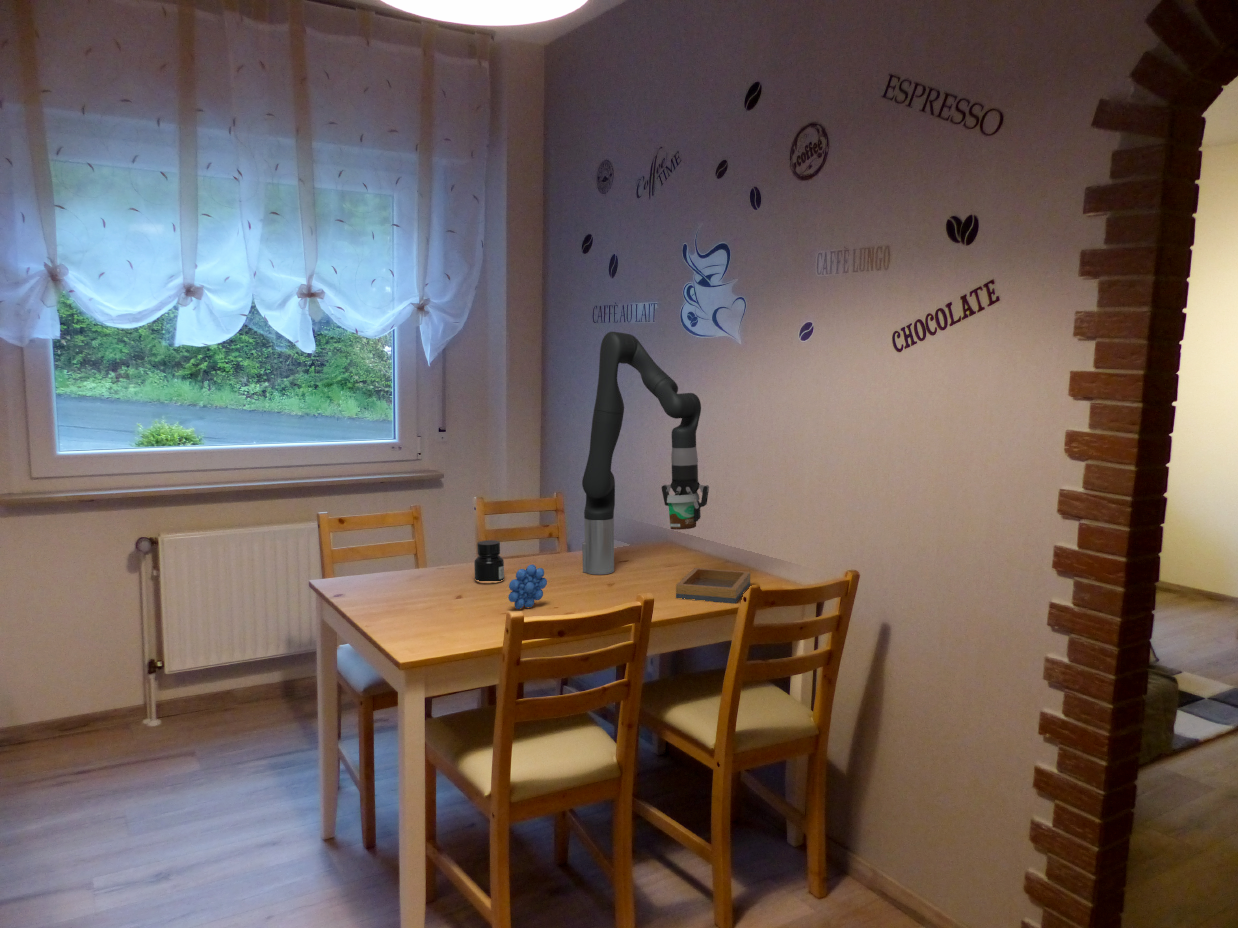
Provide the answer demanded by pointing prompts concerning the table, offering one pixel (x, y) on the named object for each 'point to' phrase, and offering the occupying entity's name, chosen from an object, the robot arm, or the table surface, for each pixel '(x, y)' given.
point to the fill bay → (713, 585)
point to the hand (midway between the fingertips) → (686, 520)
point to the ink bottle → (489, 561)
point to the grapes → (527, 586)
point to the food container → (682, 511)
